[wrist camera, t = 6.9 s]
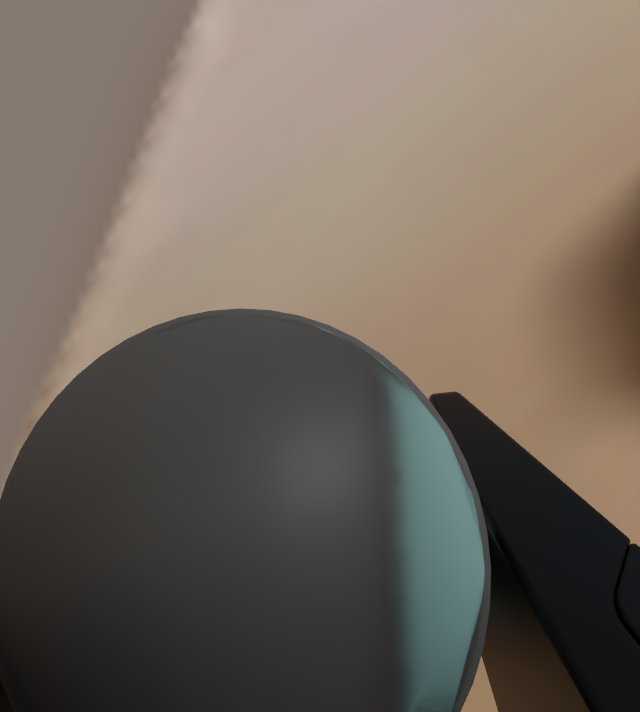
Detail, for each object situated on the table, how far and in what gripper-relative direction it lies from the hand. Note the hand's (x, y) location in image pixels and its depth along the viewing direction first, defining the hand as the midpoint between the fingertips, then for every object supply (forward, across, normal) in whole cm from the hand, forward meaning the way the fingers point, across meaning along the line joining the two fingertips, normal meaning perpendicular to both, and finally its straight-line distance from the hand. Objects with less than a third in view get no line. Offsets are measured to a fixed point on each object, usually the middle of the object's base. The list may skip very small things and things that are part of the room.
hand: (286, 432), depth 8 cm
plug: (+4, 0, +6) cm, 7 cm away
